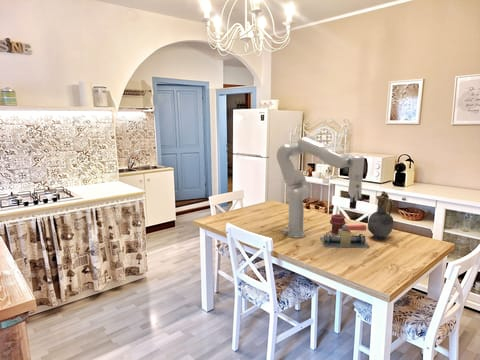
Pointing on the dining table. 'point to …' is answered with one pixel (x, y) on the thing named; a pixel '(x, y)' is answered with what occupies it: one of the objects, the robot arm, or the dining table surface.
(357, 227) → the lever
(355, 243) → the valve body
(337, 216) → the mechanical component
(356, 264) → the dining table surface
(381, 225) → the pitcher
